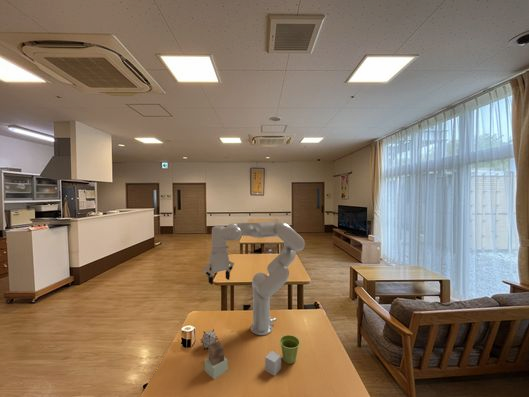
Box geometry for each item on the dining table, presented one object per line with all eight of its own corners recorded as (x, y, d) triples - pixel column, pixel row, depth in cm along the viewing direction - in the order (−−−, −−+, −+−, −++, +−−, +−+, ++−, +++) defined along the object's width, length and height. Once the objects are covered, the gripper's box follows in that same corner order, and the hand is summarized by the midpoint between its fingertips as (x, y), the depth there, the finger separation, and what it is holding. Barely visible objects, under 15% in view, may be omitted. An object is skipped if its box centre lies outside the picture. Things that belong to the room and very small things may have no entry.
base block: (217, 362, 106) (217, 351, 106) (227, 370, 102) (227, 359, 101) (204, 371, 101) (204, 360, 101) (214, 379, 96) (214, 368, 96)
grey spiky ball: (211, 356, 115) (212, 348, 109) (196, 348, 116) (196, 340, 110) (220, 338, 122) (221, 330, 116) (206, 331, 123) (207, 322, 117)
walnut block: (218, 353, 105) (218, 341, 104) (224, 360, 101) (223, 347, 100) (208, 358, 102) (208, 345, 101) (213, 365, 98) (213, 351, 97)
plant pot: (301, 354, 111) (301, 337, 110) (297, 369, 102) (297, 350, 102) (282, 350, 114) (282, 333, 114) (277, 364, 105) (277, 345, 105)
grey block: (271, 363, 105) (271, 350, 105) (281, 368, 102) (281, 355, 102) (265, 370, 101) (265, 357, 101) (274, 376, 98) (274, 362, 98)
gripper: (230, 245, 131) (230, 275, 132) (200, 250, 120) (201, 283, 121) (236, 248, 125) (237, 279, 126) (206, 253, 114) (207, 287, 115)
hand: (219, 281), depth 123 cm, fingers open, 9 cm apart
